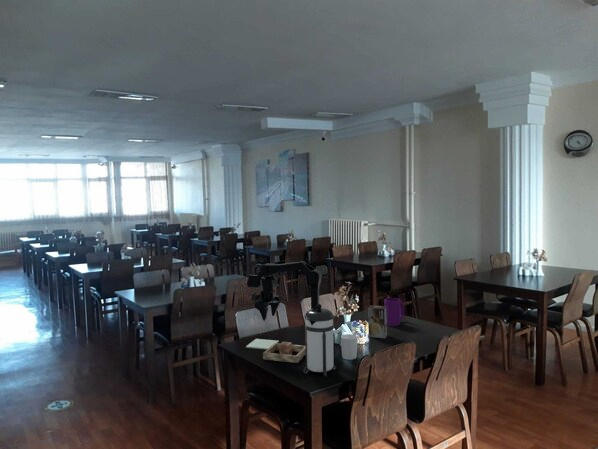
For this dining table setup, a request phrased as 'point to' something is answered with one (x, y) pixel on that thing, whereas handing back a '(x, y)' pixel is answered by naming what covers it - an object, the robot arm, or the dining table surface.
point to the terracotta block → (285, 348)
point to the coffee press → (319, 340)
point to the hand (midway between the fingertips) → (268, 318)
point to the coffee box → (377, 321)
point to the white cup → (349, 346)
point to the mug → (394, 311)
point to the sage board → (261, 344)
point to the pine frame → (283, 357)
